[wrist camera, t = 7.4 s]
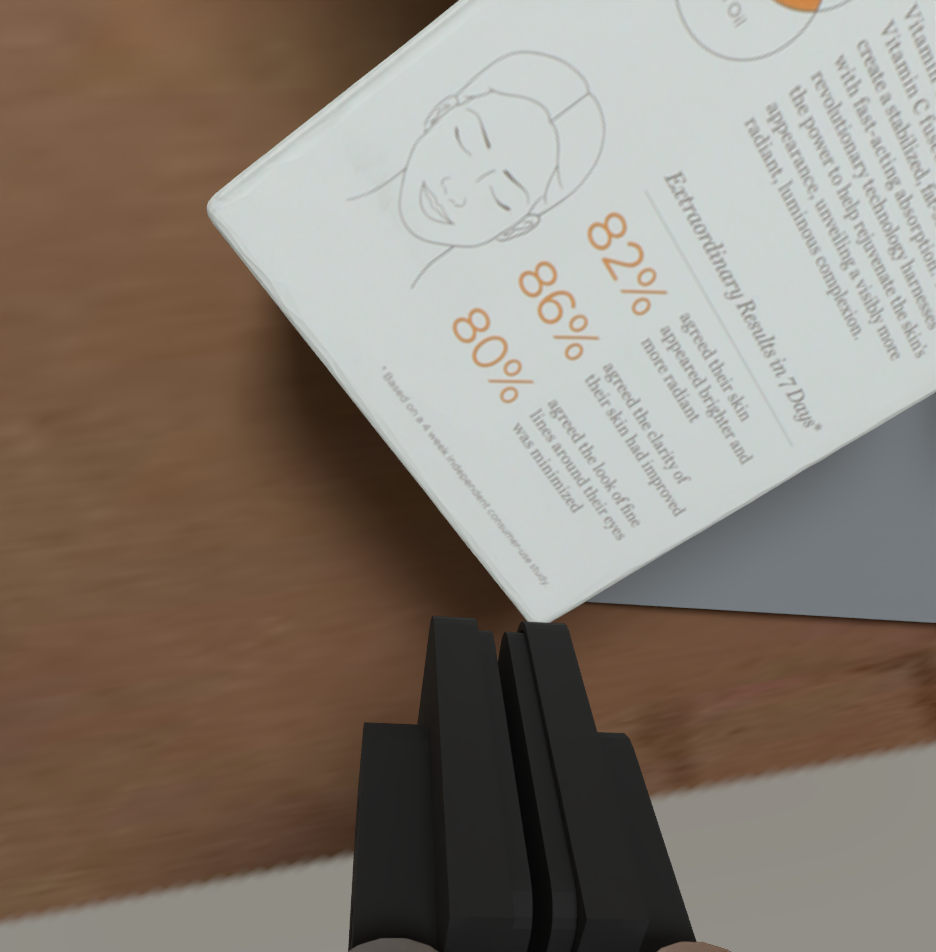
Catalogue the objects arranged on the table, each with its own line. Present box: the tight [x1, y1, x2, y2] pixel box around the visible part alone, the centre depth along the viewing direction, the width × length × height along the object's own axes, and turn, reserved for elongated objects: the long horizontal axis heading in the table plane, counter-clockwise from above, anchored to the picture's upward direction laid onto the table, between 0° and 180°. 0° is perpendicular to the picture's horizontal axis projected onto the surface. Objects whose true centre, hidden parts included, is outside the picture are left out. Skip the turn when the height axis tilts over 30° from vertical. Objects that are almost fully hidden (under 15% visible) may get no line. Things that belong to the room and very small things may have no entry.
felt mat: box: [585, 392, 936, 623], centre depth 19 cm, size 8×12×1 cm, turn 83°
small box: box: [207, 0, 936, 623], centre depth 13 cm, size 8×6×10 cm
